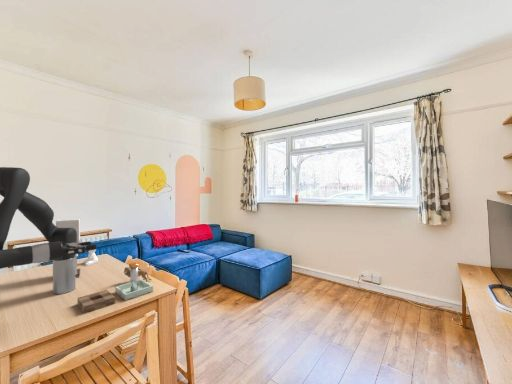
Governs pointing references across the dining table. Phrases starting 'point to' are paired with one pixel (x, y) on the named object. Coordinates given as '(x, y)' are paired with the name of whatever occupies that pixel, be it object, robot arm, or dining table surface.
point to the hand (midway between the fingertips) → (93, 245)
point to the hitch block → (96, 301)
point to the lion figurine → (140, 273)
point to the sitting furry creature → (91, 258)
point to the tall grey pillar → (76, 226)
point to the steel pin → (133, 276)
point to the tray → (126, 294)
